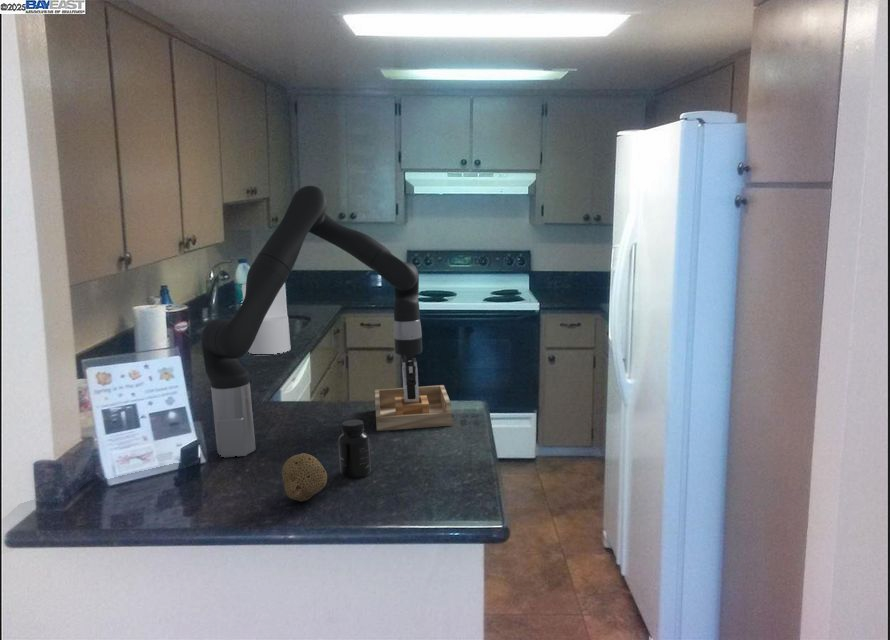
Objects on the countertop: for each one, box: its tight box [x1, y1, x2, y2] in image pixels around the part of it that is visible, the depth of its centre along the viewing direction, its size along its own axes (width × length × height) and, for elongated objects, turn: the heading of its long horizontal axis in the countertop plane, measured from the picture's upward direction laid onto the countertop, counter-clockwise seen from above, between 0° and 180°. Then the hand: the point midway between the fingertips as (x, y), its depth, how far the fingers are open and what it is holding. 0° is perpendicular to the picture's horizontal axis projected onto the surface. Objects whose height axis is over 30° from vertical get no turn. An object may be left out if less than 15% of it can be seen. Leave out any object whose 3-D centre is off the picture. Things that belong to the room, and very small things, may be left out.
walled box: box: [374, 384, 453, 432], centre depth 209 cm, size 20×20×6 cm
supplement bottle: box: [338, 419, 372, 480], centre depth 168 cm, size 7×7×12 cm
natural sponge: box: [281, 452, 328, 502], centre depth 155 cm, size 9×9×10 cm
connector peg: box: [401, 365, 419, 404], centre depth 209 cm, size 4×4×12 cm
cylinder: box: [241, 282, 292, 355], centre depth 309 cm, size 17×17×28 cm
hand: (411, 396), depth 209 cm, fingers closed on connector peg, 4 cm apart
